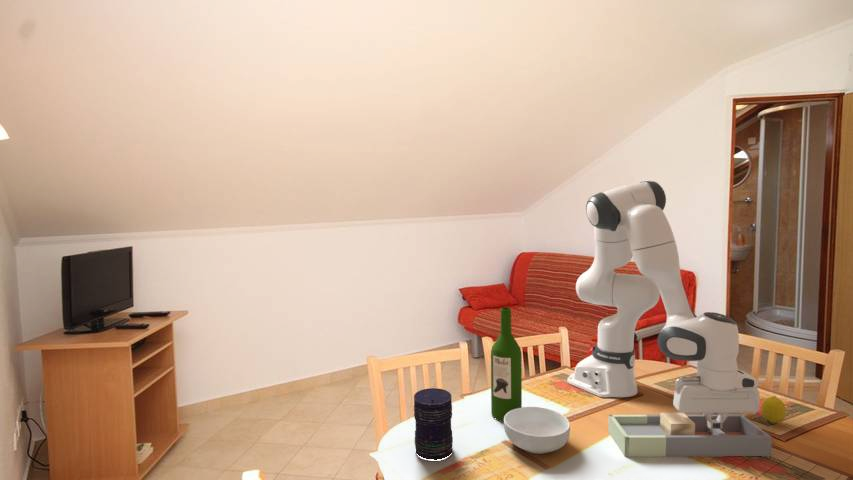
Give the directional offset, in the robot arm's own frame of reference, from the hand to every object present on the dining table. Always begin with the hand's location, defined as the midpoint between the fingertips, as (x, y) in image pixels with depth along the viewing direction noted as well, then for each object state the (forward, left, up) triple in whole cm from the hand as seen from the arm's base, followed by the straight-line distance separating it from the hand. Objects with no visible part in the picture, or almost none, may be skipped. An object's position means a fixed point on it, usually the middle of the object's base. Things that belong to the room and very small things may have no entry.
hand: (714, 427), depth 123 cm
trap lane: (-5, -5, -4) cm, 8 cm away
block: (-7, -7, -1) cm, 10 cm away
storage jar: (-49, -54, -4) cm, 73 cm away
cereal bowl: (-32, -33, -5) cm, 46 cm away
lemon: (+8, +23, -4) cm, 25 cm away
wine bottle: (-48, -25, -4) cm, 54 cm away
